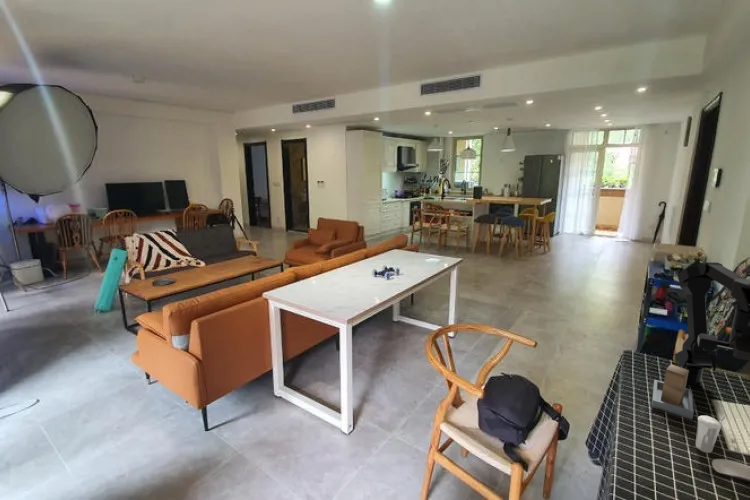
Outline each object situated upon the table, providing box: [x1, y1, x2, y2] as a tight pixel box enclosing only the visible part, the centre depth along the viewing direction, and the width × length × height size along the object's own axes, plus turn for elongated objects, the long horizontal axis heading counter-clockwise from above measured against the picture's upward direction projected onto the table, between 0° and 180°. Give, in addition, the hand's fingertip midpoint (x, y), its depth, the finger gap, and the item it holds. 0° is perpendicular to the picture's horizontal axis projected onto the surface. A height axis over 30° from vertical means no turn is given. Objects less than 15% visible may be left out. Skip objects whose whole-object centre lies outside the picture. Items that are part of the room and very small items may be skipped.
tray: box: [651, 379, 694, 421], centre depth 116 cm, size 14×10×2 cm
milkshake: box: [695, 415, 726, 454], centre depth 96 cm, size 4×5×10 cm
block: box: [661, 363, 689, 407], centre depth 114 cm, size 4×4×11 cm
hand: (735, 375), depth 107 cm, fingers open, 9 cm apart
